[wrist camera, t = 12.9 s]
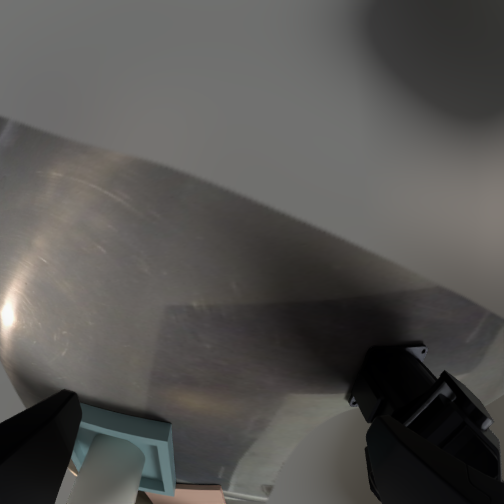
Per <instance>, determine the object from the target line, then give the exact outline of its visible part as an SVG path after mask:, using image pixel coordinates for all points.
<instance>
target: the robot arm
mask: <svg viewBox="0 0 504 504" xmlns="http://www.w3.org/2000/svg"><path fill="white" fill-rule="evenodd" d="M427 351H428V348H427V347H426V346H425V345H406V346H375V347H372V348H370V349H369V350H368V352H367V355H366V358H365V361H364V363H363V366H362V369H361V371H360V372H359V375H358V377H357V380H356V382H355V385H354V387H353V390H352V394H351V396H350V399H349V401H348V402H349V405H350V406H351V407H357V406H359V408H360V410H361V412H362V414H363V416H364V418H365V420H366V421H367V423H372V424H371V426H370V428H369V429H368V431H367V434H366V442H367V447H365V454H366V461H367V470H368V478H369V484H370V489H371V491H372V492H373V493H374V495H375V496H376V497H377V498H378V500H379V501H381V502H382V504H504V481H503V480H502V473H501V452H500V442H499V439H498V438H497V437H496V435H495V434H494V433H493V432H492V431H491V430H490V429H489V427H490V426H491V425H492V424H493V422H494V421H493V419H492V417H491V416H490V414H489V413H488V411H487V410H486V408H485V407H484V406H483V404H482V403H481V401H480V400H479V399H478V398H477V397H476V396H475V395H474V394H473V393H472V392H471V391H470V390H469V389H468V388H467V387H466V386H465V385H464V384H462V383H461V382H460V381H458V380H457V379H456V378H455V377H453V376H452V375H451V374H449V373H448V372H447V371H445V370H444V371H443V372H442V373H441V375H440V377H439V378H438V379H437V378H436V377H435V376H434V375H433V374H432V372H431V371H430V370H429V369H428V368H427V367H426V366H425V365H424V364H423V360H424V358H425V356H426V353H427ZM373 352H375V353H374V354H372V353H373ZM354 401H355V402H354ZM81 420H82V409H81V405H80V402H79V399H78V395H77V394H76V393H75V392H73V391H70V390H67V389H63V390H61V391H59V392H57V393H55V394H54V395H52V396H50V397H48V398H46V399H44V400H43V401H41V402H39V403H37V404H35V405H33V406H32V407H30V408H28V409H26V410H24V411H22V412H21V413H18V414H17V415H15V416H13V417H11V418H9V419H7V420H5V421H3V422H1V423H0V504H55V501H56V498H57V495H58V492H59V489H60V486H61V483H62V481H63V478H64V475H65V473H66V470H67V467H68V465H69V462H70V459H71V456H72V453H73V449H74V445H75V441H76V438H77V434H78V430H79V427H80V423H81Z"/></svg>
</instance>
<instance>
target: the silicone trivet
mask: <svg viewBox="0 0 504 504" xmlns="http://www.w3.org/2000/svg"><path fill="white" fill-rule="evenodd" d="M145 493H146V494H147V496H148V497H149V498H150V500H151V501H152V502H153V504H226V502H225V498H224V495H223V492H222V488H221V485H187V484H176V487H175V495H174V497H173V496H167V495H161V494H155V493H150V492H145Z"/></svg>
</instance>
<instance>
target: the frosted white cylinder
mask: <svg viewBox="0 0 504 504" xmlns="http://www.w3.org/2000/svg"><path fill="white" fill-rule="evenodd" d="M145 460H146V459H145V455H144V453H143V452H142V451H141V450H140V449H139V448H138V447H137V446H135V445H134V444H132V443H131V442H129V441H127V440H125V439H121V438H117V437H113V436H110V435H106V434H98V435H96V436H95V437H94V438H93V440H92V443H91V445H90V447H89V449H88V452H87V454H86V456H85V459H84V461H83V463H82V466H81V468H80V471H79V473H78V475H77V478H76V480H75V483H74V485H73V488H72V491H71V493H70V495H69V498H68V500H67V503H66V504H135V501H136V497H137V493H138V489H139V484H140V480H141V476H142V472H143V468H144V464H145Z"/></svg>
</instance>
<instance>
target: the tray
mask: <svg viewBox="0 0 504 504" xmlns="http://www.w3.org/2000/svg"><path fill="white" fill-rule="evenodd" d="M80 405H81V409H82V420H81V423H80V427H79V430H78V434H77V438H76V441H75V445H74V449H73V453H72V456H71V458H72V460H73V462H74V464H75V466H76V468H77V470H78V472H79V471H80V468H81V466H82V463H83V461H84V459H85V456H86V454H87V452H88V449H89V447H90V445H91V443H92V440H93V438H94V437H95V436H96V435H98V434H106V435H110V436H113V437H117V438H121V439H125V440H127V441H129V442H131V443H132V444H134V445H135V446H137V447H138V448H139V449H140V450H141V451H142V452H143V453H144V455H145V459H146V460H145V464H144V468H143V472H142V476H141V480H140V484H139V489H138V490H141V491H145V492H150V493H155V494H161V495H167V496H173V497H174V495H175V487H176V475H175V465H174V454H173V442H172V428H171V423H166V422H160V421H154V420H149V419H144V418H139V417H134V416H130V415H125V414H121V413H117V412H112V411H109V410H105V409H101V408H97V407H94V406H90V405H87V404H83V403H80Z"/></svg>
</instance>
